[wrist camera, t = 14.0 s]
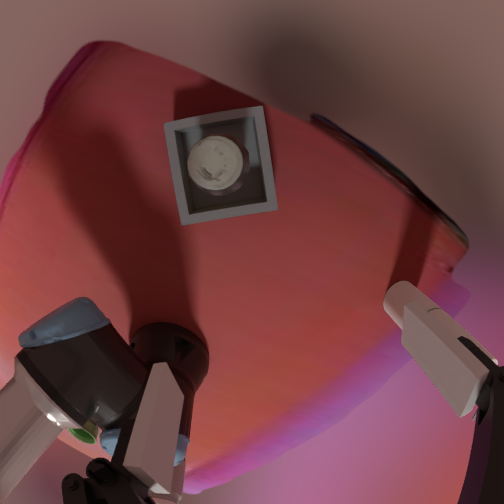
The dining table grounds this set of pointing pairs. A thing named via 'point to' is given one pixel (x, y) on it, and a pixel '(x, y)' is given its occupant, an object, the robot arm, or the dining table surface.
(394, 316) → the cylindrical container
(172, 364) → the robot arm
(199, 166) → the sauce bottle
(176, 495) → the jar
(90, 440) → the ramekin
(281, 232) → the dining table surface
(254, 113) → the grey open box
